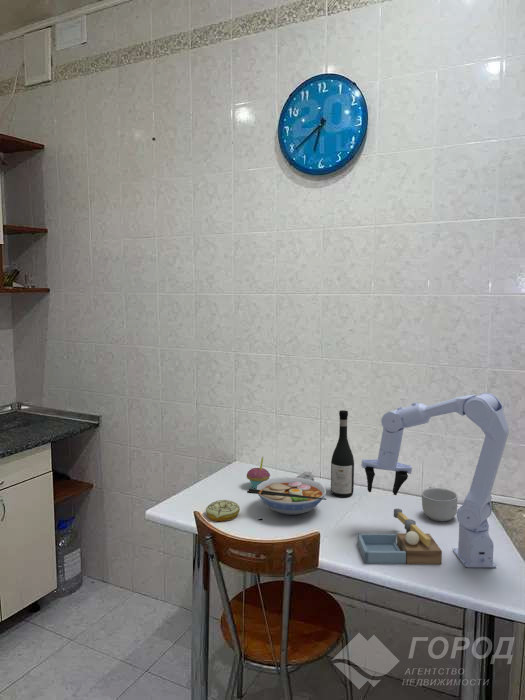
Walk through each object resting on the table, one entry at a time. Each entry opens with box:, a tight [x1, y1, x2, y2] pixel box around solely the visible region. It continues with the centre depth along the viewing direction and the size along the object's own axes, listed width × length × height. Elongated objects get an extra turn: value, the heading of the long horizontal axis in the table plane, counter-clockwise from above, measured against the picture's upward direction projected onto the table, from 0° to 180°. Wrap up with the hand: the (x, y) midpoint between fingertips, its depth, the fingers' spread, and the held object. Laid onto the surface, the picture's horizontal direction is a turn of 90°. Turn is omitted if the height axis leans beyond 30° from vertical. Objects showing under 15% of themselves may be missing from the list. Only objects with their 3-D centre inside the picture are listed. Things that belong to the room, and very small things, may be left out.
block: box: [396, 529, 443, 565], centre depth 138 cm, size 12×9×4 cm
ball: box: [405, 531, 419, 545], centre depth 135 cm, size 4×4×4 cm
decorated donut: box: [205, 499, 241, 522], centre depth 161 cm, size 10×11×4 cm
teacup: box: [420, 485, 459, 522], centre depth 162 cm, size 14×11×8 cm
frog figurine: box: [296, 471, 315, 481], centre depth 183 cm, size 6×7×7 cm
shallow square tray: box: [357, 533, 407, 565], centre depth 137 cm, size 11×11×3 cm
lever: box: [393, 508, 431, 546], centre depth 142 cm, size 20×3×2 cm, turn 10°
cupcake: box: [246, 456, 271, 489], centre depth 185 cm, size 9×8×12 cm
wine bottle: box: [330, 410, 355, 498], centre depth 179 cm, size 8×8×30 cm
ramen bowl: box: [246, 476, 327, 516], centre depth 165 cm, size 25×23×8 cm
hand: (381, 492), depth 151 cm, fingers open, 7 cm apart
